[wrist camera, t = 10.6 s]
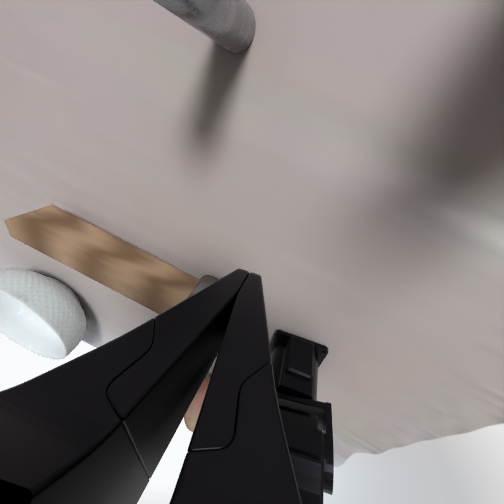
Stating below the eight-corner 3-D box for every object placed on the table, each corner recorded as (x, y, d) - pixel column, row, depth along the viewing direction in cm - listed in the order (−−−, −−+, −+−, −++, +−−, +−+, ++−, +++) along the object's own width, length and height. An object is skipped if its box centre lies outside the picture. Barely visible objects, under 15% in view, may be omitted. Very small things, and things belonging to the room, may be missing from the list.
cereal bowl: (78, 333, 45) (42, 365, 39) (8, 272, 40) (-46, 298, 34) (120, 318, 37) (82, 356, 31) (38, 238, 31) (-26, 266, 26)
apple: (197, 379, 40) (173, 430, 34) (203, 359, 36) (175, 413, 29) (236, 398, 40) (219, 453, 33) (247, 380, 35) (229, 439, 29)
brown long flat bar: (226, 283, 24) (201, 324, 20) (219, 299, 26) (194, 341, 21) (60, 197, 25) (-4, 217, 20) (64, 219, 27) (6, 242, 22)
